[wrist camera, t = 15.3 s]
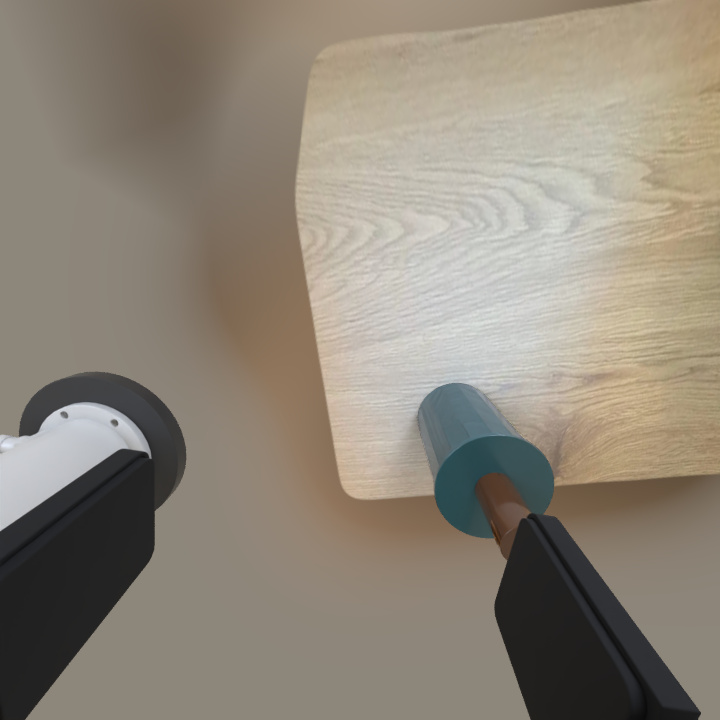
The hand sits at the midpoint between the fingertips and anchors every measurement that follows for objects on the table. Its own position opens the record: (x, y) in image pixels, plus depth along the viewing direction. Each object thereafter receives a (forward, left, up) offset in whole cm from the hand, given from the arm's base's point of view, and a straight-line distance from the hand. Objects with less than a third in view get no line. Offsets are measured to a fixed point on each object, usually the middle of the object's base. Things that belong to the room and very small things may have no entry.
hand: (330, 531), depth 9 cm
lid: (+11, -7, -16) cm, 21 cm away
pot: (+11, -7, -28) cm, 31 cm away
